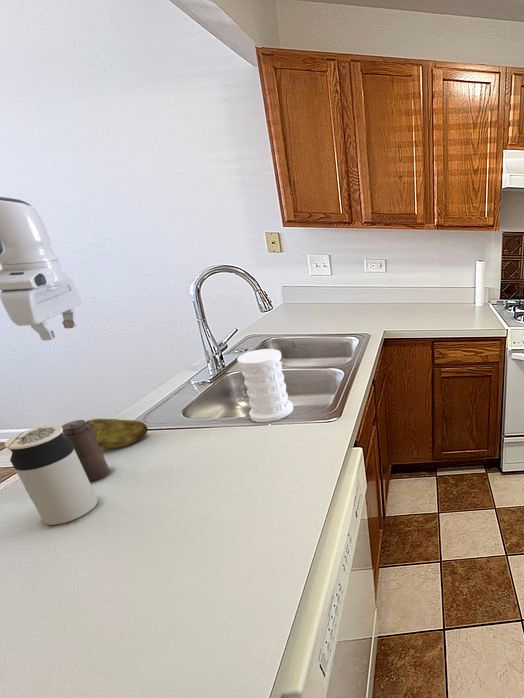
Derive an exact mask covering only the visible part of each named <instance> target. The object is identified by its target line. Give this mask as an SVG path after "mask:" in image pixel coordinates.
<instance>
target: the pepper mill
mask: <svg viewBox="0 0 524 698" xmlns="http://www.w3.org/2000/svg"><path fill="white" fill-rule="evenodd" d="M61 427H62V428H63V431H62V435H63V437H65V438H67V439H69V440H70V441H71V443H72V445H73V447H74V450H75V452H76V454H77V456H78V458H79V460H80V462H81V465H82V467H83V469H84V471H85V473H86V475H87V478H88V480H89V482H90V483H93V482H97V481H100V480H102V479H103V478H106V477H108V475H110V473H111V470H110V467H109V465H108V462H107V460H106V458H105V456H104V453H103V451H102V449H101V447H99V444H98V442H97V440H96V437H95V435H94V433H93V430H92V428H91V426H89V425H86V420H84V419H78V420H77V419H76V420H73V421H68V422H66V423H64V424H62V425H61Z"/></svg>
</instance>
